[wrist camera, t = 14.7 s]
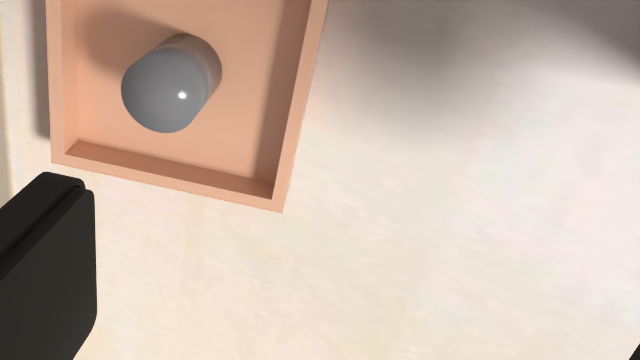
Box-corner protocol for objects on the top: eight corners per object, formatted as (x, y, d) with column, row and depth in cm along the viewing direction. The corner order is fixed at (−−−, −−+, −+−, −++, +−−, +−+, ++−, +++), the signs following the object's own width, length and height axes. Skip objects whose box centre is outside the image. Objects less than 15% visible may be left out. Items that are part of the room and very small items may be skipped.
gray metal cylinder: (227, 45, 39) (204, 70, 34) (215, 108, 41) (192, 142, 36) (158, 24, 39) (124, 47, 34) (150, 90, 41) (117, 121, 36)
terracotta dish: (335, -33, 37) (333, -25, 34) (286, 193, 46) (282, 213, 43) (65, -98, 36) (41, -95, 33) (69, 145, 45) (51, 162, 42)
